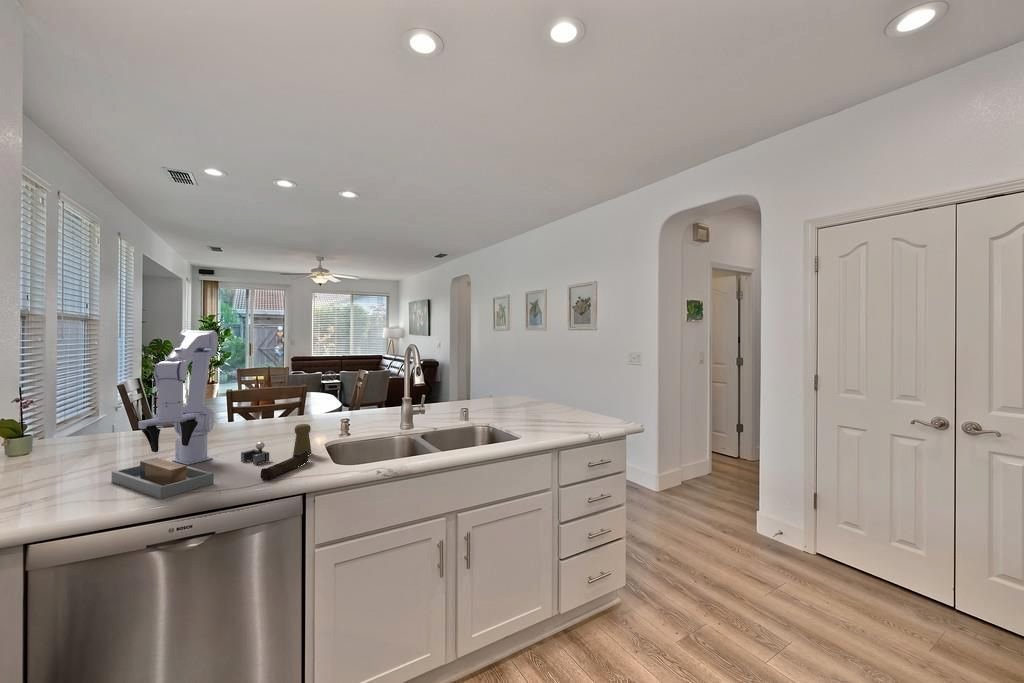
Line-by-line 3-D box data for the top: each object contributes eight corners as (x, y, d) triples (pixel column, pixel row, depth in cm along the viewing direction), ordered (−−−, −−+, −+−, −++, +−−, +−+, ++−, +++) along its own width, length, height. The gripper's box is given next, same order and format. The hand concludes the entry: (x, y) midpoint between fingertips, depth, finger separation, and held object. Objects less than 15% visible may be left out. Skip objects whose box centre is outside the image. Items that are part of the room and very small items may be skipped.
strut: (170, 488, 117) (170, 470, 117) (140, 478, 124) (140, 461, 124) (186, 483, 121) (186, 466, 121) (156, 474, 128) (156, 457, 127)
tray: (111, 481, 122) (111, 471, 122) (164, 469, 134) (164, 459, 134) (160, 499, 111) (160, 487, 111) (213, 483, 123) (213, 473, 123)
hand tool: (270, 482, 126) (271, 466, 125) (259, 480, 127) (259, 465, 126) (315, 463, 144) (315, 450, 144) (304, 462, 145) (305, 448, 145)
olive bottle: (297, 452, 155) (297, 422, 155) (314, 452, 156) (314, 422, 155) (289, 457, 149) (290, 426, 149) (307, 457, 149) (308, 426, 149)
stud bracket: (241, 461, 144) (241, 442, 143) (256, 457, 148) (256, 439, 148) (256, 464, 140) (256, 446, 140) (271, 460, 145) (271, 442, 145)
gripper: (147, 407, 116) (147, 456, 116) (205, 400, 129) (205, 444, 129) (134, 404, 119) (134, 452, 119) (192, 398, 132) (192, 441, 132)
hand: (170, 448), depth 124 cm, fingers open, 7 cm apart
